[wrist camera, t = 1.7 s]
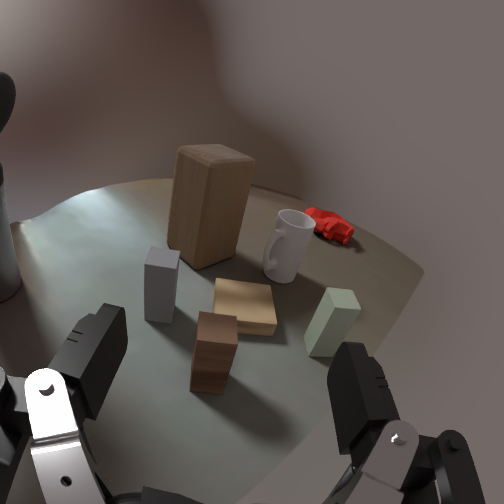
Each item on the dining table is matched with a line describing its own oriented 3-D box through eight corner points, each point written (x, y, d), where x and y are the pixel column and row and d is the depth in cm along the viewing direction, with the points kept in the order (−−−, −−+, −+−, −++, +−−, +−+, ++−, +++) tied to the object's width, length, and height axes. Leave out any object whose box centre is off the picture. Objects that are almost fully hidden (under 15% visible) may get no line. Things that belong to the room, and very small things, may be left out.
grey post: (171, 324, 42) (176, 268, 37) (144, 319, 41) (144, 263, 36) (174, 305, 45) (180, 250, 40) (149, 301, 45) (151, 246, 39)
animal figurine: (309, 215, 88) (314, 199, 85) (353, 239, 81) (360, 223, 78) (287, 223, 79) (293, 205, 77) (336, 250, 72) (343, 232, 70)
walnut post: (222, 394, 34) (237, 344, 29) (189, 391, 34) (197, 339, 28) (222, 368, 38) (236, 316, 32) (191, 365, 37) (199, 311, 32)
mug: (277, 259, 63) (294, 207, 57) (302, 277, 59) (322, 224, 53) (242, 274, 56) (257, 215, 50) (268, 295, 52) (288, 235, 46)
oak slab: (271, 337, 45) (277, 324, 43) (211, 331, 43) (214, 317, 42) (265, 298, 52) (270, 285, 51) (213, 291, 51) (216, 277, 49)
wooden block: (203, 233, 65) (220, 142, 54) (235, 257, 60) (259, 159, 50) (164, 245, 58) (176, 144, 47) (195, 273, 53) (214, 163, 43)
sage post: (332, 357, 43) (361, 309, 38) (308, 356, 42) (334, 307, 37) (326, 337, 47) (352, 290, 41) (303, 336, 46) (327, 287, 41)
